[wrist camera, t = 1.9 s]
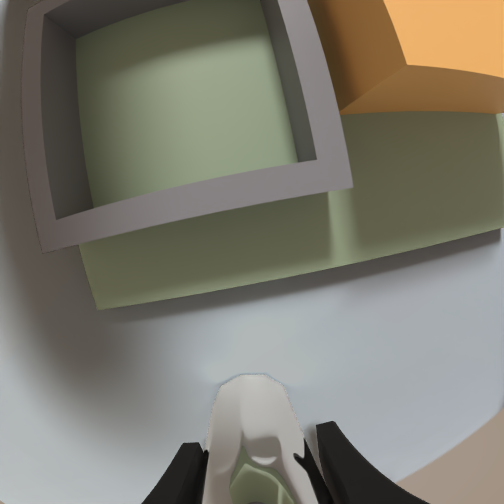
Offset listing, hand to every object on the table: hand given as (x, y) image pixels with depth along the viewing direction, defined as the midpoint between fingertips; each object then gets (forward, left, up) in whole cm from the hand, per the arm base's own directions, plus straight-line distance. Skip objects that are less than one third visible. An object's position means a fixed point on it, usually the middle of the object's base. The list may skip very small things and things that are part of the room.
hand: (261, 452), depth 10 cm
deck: (-4, -13, -3) cm, 14 cm away
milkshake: (0, 0, -3) cm, 3 cm away
